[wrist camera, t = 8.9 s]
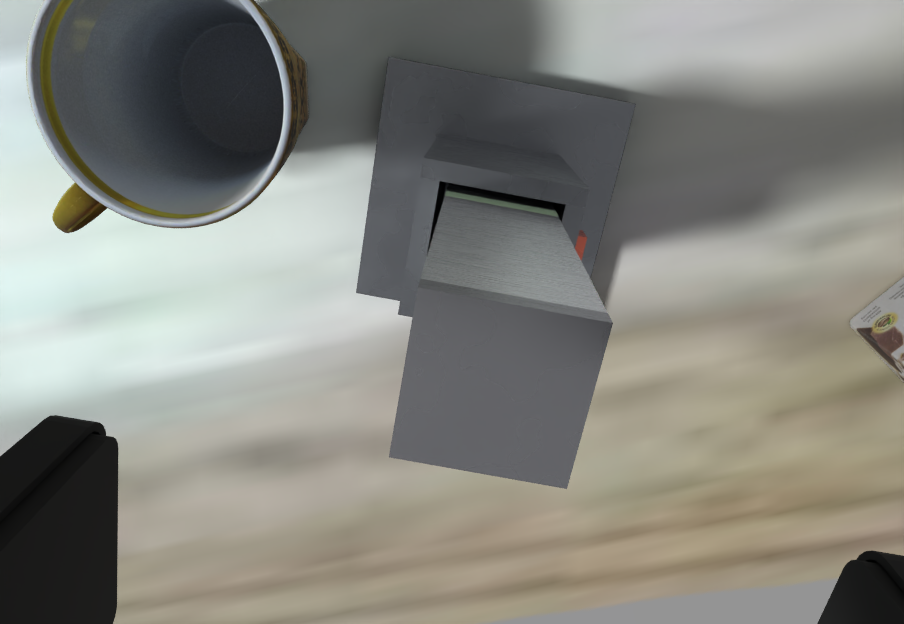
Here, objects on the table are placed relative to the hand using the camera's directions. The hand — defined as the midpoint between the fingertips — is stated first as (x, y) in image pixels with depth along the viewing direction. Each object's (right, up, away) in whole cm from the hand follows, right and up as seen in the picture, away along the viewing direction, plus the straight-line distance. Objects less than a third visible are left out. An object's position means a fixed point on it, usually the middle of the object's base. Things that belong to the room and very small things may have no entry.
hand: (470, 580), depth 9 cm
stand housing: (+2, +9, +27) cm, 29 cm away
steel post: (+1, +7, +21) cm, 22 cm away
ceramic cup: (-12, +14, +27) cm, 32 cm away
